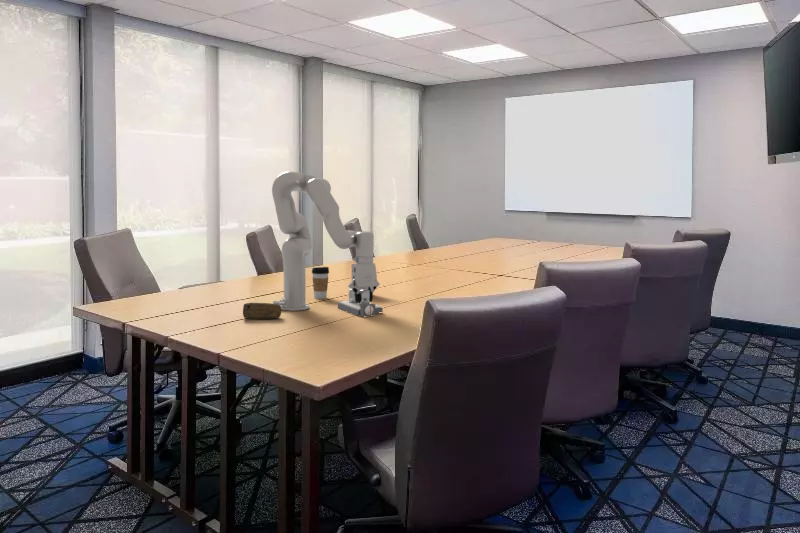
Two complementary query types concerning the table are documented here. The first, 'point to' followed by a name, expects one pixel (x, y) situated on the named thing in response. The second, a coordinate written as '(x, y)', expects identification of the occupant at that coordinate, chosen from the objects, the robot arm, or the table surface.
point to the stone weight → (261, 311)
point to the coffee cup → (320, 282)
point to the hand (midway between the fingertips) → (363, 301)
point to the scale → (360, 308)
